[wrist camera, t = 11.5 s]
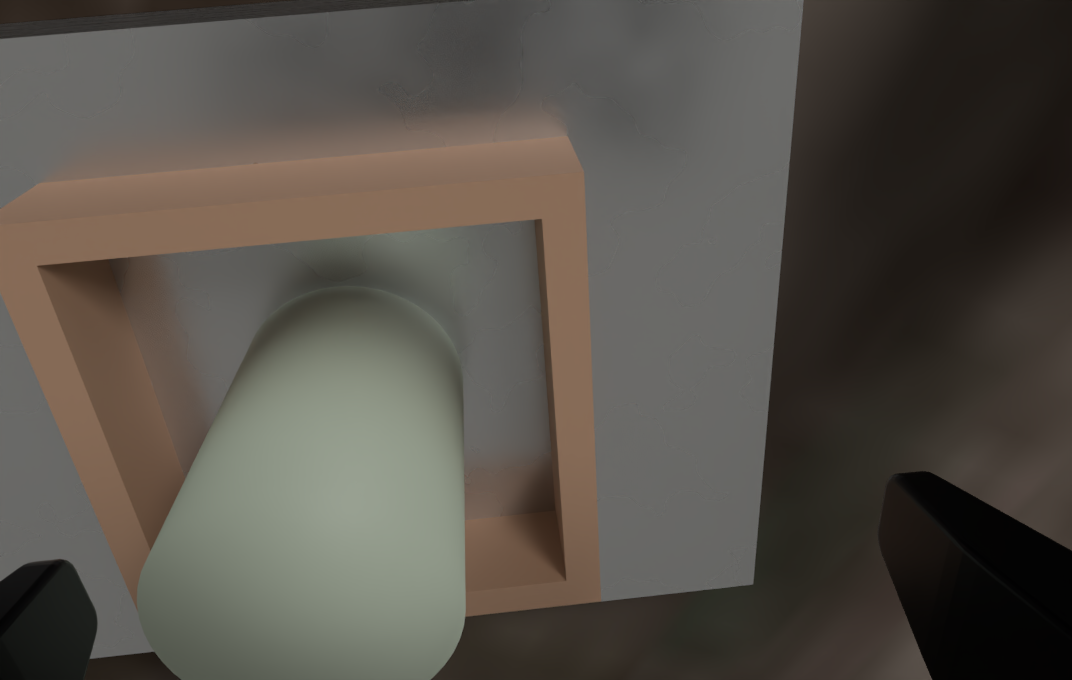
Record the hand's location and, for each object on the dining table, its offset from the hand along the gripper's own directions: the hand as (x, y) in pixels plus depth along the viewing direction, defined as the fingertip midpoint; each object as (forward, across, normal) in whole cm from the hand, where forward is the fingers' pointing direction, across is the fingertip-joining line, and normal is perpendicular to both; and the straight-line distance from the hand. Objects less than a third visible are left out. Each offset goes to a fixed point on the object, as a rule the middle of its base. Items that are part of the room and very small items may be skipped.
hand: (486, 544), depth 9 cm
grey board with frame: (+12, +4, +4) cm, 13 cm away
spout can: (+9, +3, +4) cm, 11 cm away
